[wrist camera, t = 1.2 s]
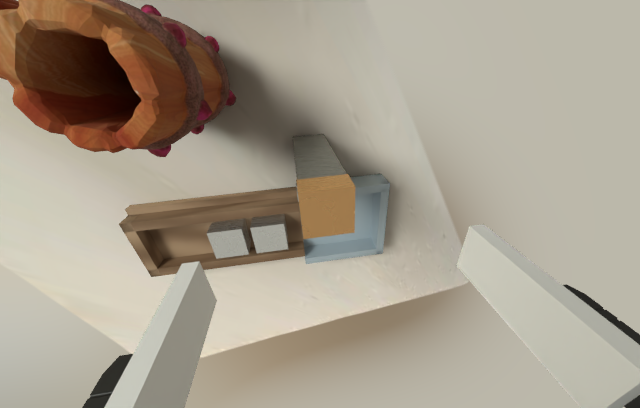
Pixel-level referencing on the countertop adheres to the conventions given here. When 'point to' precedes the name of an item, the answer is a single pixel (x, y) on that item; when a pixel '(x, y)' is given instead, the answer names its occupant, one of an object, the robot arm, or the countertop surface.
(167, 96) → the mug
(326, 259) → the tray
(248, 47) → the countertop surface
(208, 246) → the slot board
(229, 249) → the chip
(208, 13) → the countertop surface
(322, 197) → the grey and tan block
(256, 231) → the chip
